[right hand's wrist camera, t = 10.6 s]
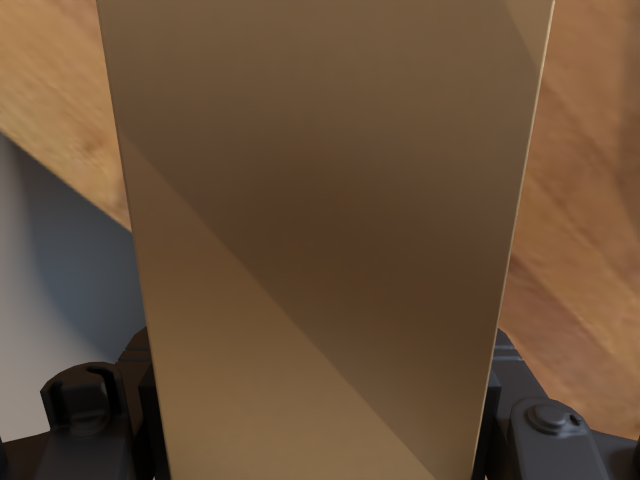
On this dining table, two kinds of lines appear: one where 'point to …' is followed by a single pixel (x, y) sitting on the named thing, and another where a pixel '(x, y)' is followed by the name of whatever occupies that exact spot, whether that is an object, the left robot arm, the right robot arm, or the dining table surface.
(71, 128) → the dining table surface
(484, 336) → the beam
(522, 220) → the dining table surface
